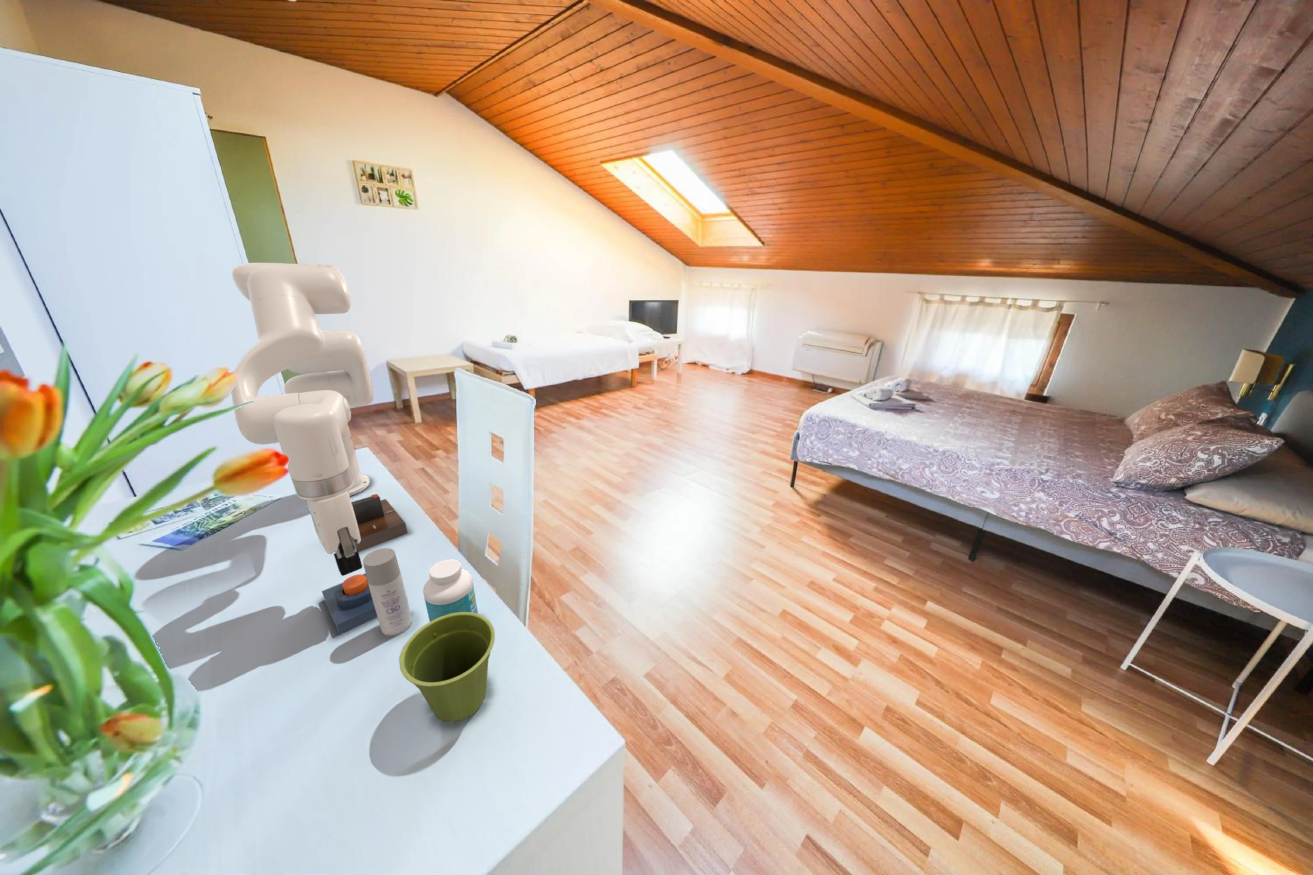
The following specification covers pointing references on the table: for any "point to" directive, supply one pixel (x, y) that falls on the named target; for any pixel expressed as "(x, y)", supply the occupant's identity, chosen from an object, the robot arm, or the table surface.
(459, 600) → the pill bottle
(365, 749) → the table surface
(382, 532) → the brown wooden switch base
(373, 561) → the container
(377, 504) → the black boxy piece
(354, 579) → the button
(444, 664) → the plant pot
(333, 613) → the button block
